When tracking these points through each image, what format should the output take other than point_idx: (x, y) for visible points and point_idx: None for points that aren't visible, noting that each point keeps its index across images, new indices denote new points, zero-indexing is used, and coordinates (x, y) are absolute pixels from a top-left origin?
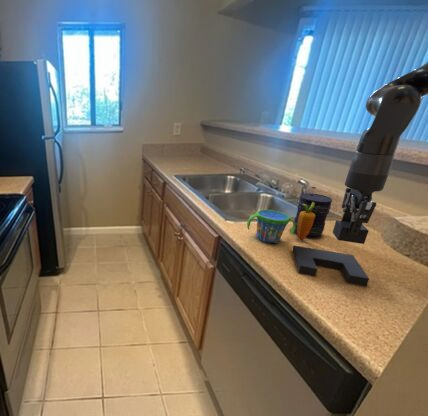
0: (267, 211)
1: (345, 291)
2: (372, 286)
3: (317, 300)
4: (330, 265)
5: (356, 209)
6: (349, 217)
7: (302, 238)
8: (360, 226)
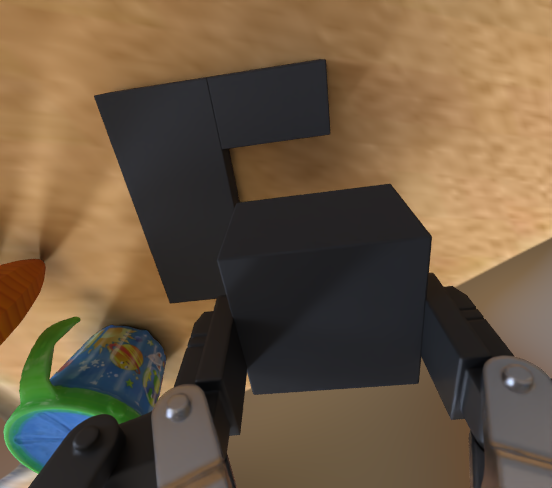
0: (42, 462)
1: (400, 141)
2: (308, 33)
3: (492, 225)
4: (232, 181)
5: (219, 449)
6: (232, 369)
7: (41, 265)
8: (470, 328)
